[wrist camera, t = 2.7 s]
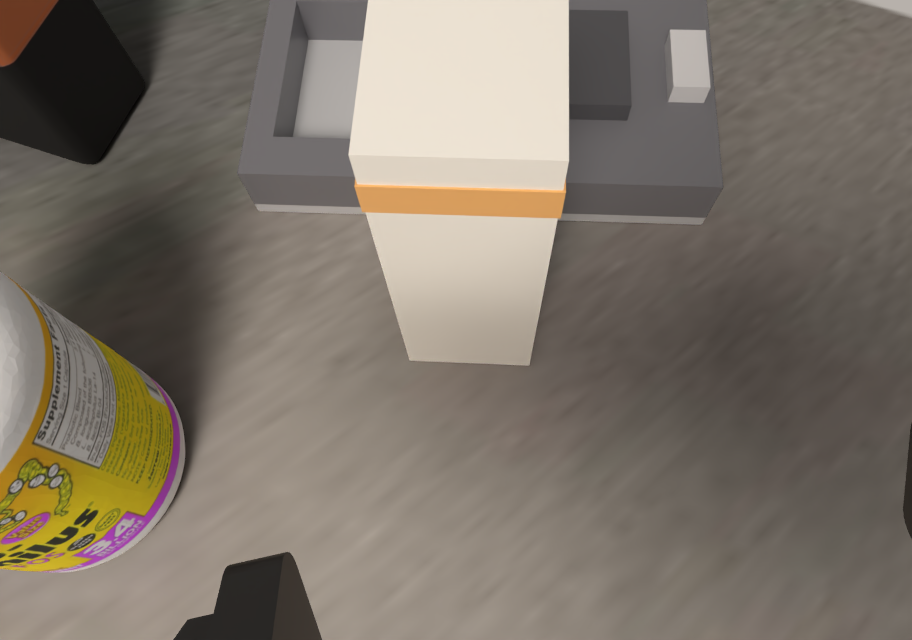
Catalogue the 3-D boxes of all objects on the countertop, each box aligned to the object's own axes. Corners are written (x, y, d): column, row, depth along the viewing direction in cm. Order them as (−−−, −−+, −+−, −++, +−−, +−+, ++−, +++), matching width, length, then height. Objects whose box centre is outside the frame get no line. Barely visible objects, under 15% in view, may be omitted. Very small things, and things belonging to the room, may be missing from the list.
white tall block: (532, 256, 26) (571, -12, 15) (530, 367, 24) (572, 163, 13) (417, 252, 26) (368, -15, 15) (407, 362, 24) (345, 157, 13)
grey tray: (686, 26, 29) (710, -43, 26) (701, 224, 26) (731, 173, 23) (292, 19, 30) (270, -48, 27) (258, 211, 27) (229, 159, 24)
